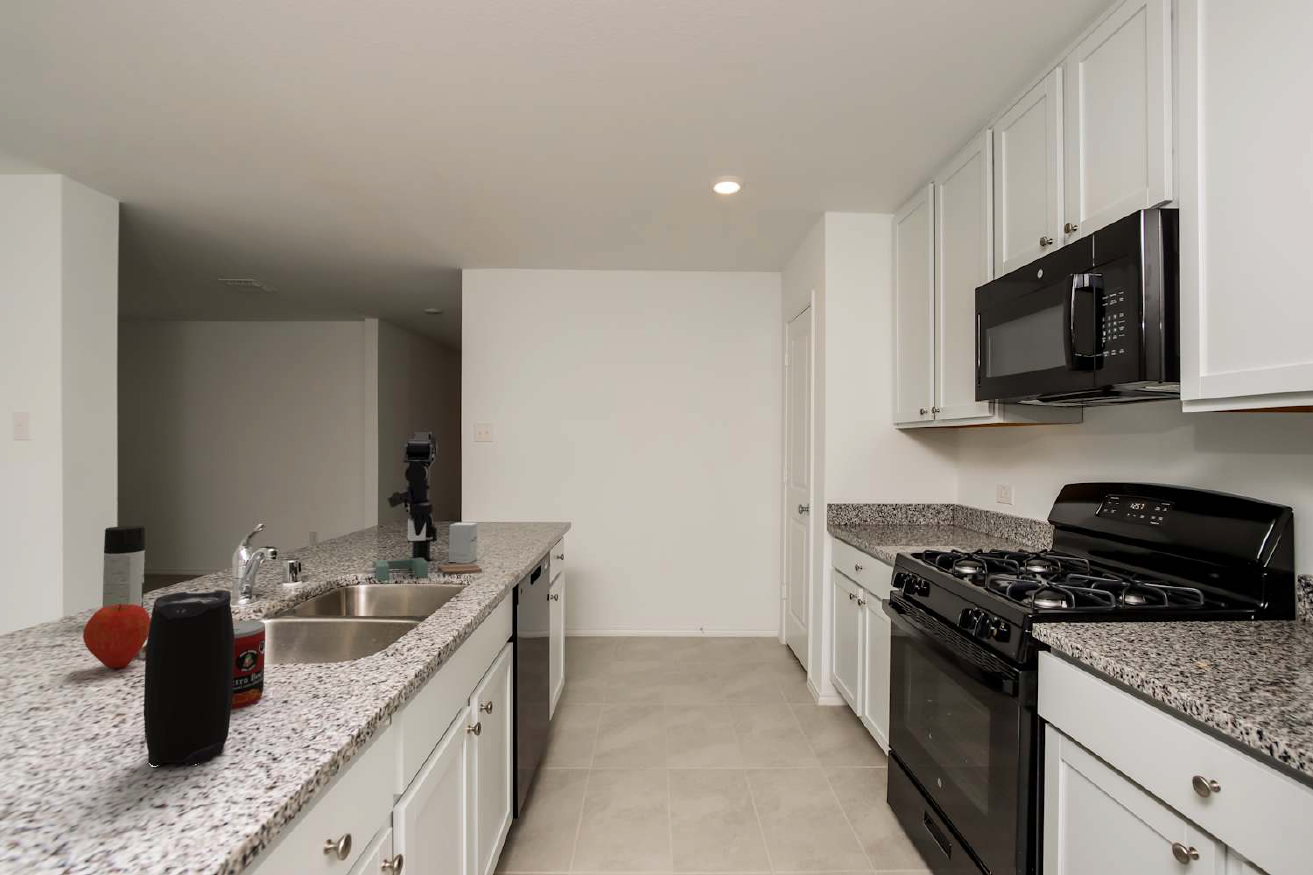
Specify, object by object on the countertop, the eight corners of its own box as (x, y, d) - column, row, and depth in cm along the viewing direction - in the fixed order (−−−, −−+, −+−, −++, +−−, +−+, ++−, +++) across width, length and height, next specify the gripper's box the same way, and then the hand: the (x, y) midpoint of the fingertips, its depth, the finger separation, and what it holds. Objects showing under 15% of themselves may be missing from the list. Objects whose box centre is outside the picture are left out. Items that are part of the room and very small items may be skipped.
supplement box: (470, 563, 205) (471, 525, 205) (447, 563, 205) (448, 524, 205) (477, 559, 212) (478, 522, 212) (455, 559, 212) (456, 521, 212)
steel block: (407, 538, 188) (408, 518, 188) (423, 538, 190) (423, 518, 190) (409, 541, 184) (409, 520, 184) (425, 540, 186) (425, 519, 186)
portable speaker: (240, 733, 83) (245, 586, 84) (214, 768, 74) (220, 603, 75) (163, 741, 81) (168, 589, 81) (127, 778, 72) (133, 607, 72)
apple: (70, 678, 101) (72, 611, 101) (101, 661, 109) (103, 598, 109) (133, 674, 103) (135, 608, 103) (159, 657, 111) (161, 596, 112)
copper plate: (437, 568, 195) (438, 565, 195) (473, 566, 201) (473, 562, 201) (444, 575, 186) (444, 571, 186) (481, 572, 191) (481, 569, 191)
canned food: (217, 716, 88) (219, 637, 89) (191, 703, 93) (193, 628, 93) (274, 698, 95) (276, 625, 95) (247, 686, 99) (249, 616, 99)
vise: (363, 571, 189) (364, 558, 189) (420, 567, 196) (420, 554, 196) (367, 581, 175) (367, 567, 175) (427, 576, 183) (428, 563, 183)
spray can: (149, 620, 134) (152, 526, 135) (111, 628, 128) (114, 530, 129) (132, 615, 137) (135, 524, 138) (94, 623, 131) (97, 527, 131)
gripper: (386, 480, 191) (384, 531, 191) (391, 484, 175) (390, 540, 175) (424, 479, 197) (423, 529, 196) (433, 483, 180) (432, 538, 180)
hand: (416, 534), depth 187 cm, fingers closed on steel block, 4 cm apart
